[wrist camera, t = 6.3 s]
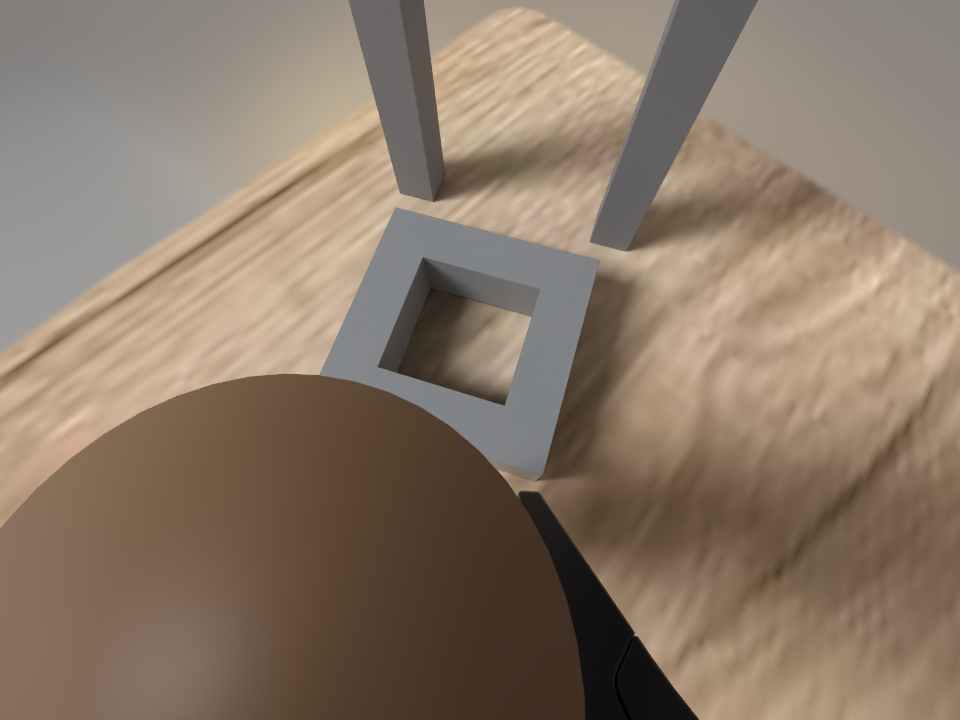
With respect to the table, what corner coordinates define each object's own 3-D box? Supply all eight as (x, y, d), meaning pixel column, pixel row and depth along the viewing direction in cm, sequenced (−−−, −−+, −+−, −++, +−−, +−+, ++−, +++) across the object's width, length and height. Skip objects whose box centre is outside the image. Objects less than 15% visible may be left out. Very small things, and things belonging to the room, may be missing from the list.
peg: (519, 599, 14) (707, 1046, 2) (397, 638, 14) (-208, 1438, 2) (484, 475, 16) (477, 312, 3) (371, 508, 15) (-80, 461, 3)
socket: (534, 481, 20) (542, 475, 17) (331, 415, 21) (307, 400, 19) (585, 291, 23) (599, 260, 21) (405, 243, 25) (395, 207, 22)
